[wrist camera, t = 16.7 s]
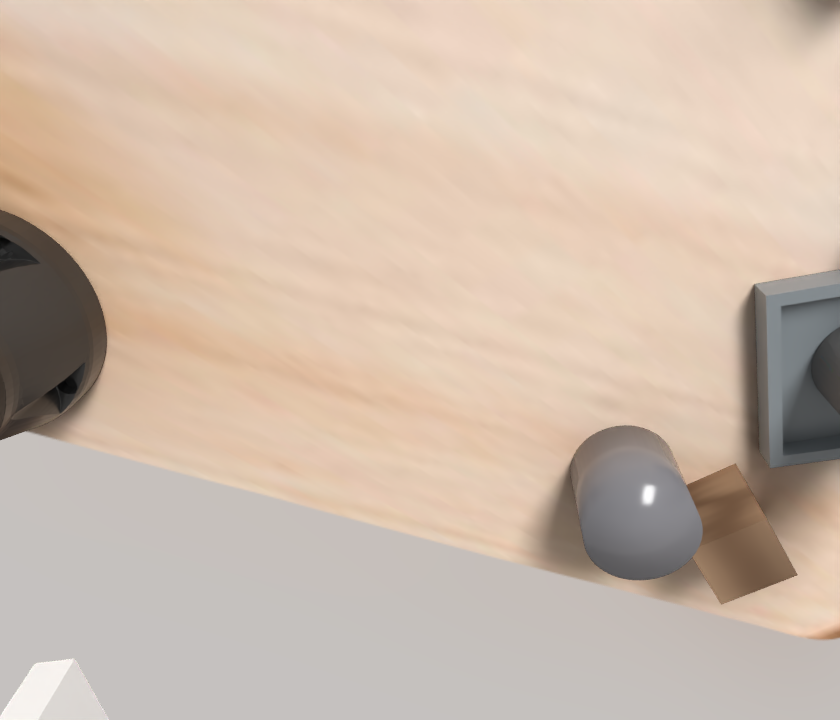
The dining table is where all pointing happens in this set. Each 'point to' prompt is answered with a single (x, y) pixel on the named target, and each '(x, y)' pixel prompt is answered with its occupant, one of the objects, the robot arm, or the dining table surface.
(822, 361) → the bottle
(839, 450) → the tray
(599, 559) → the gray domed object
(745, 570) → the walnut block
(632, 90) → the dining table surface
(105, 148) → the dining table surface
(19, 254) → the robot arm
